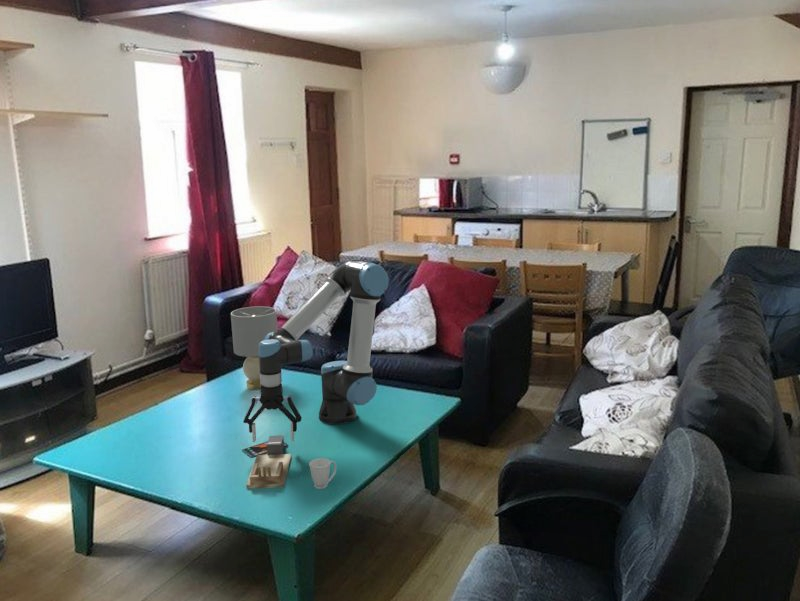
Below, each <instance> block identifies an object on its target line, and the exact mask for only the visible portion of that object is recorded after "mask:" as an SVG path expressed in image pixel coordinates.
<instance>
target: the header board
mask: <svg viewBox="0 0 800 601" xmlns="http://www.w3.org/2000/svg"><path fill="white" fill-rule="evenodd" d="M291 459H292V453H285V454H284V453H283V454H276V455H267V454H263V455H257V456H256V457H255V460H254V462H253V465H252V468H251V470H250V474H249V476H248V479H247V483H246V489H266V488H267V489H269V488H271V489H272V488H284V487H285V483H286V480H287V476H288V471H289V467H290V463H291Z"/></svg>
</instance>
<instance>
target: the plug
mask: <svg viewBox="0 0 800 601" xmlns="http://www.w3.org/2000/svg"><path fill="white" fill-rule="evenodd" d="M267 441H268V443H267V453H266V455H276V454H284V449H285V448H284V442H285V438H284V434H283V435H269V437H268V440H267Z"/></svg>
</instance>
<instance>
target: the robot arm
mask: <svg viewBox="0 0 800 601" xmlns="http://www.w3.org/2000/svg"><path fill="white" fill-rule="evenodd" d="M388 287H389V275H388V273H387V271H386V269H384V267H383V266H381V265H379V264H377V263H374V262H369V261H363V260H359V259H349V260H347V261H346V262H344V263H341V264H340V265H339V266H338V267H336V268H335V269H334V270H333V271H332V272H331V273H330V274H328V276H326V277H325V282H324V283H323V284H322V285H321V287H319V288H318V290H317V291H315V292H314V293H313V294H312V295H311V296H310V297H309V298H308V299H307V301H306V302H305V303H304V304H303V305H302V306H300V308H299V309H298V310H297V311H296V312H295V313H293V315H291V317H290V318H289V319H287V321H286V322H285V323H284V324H283V325H282V326H281V327H280V328H279V329H277V332H271V333H269V334H267V335H266V337H265V339H264V340H263V341H261V342H260V343H259V353H258V356H259V367H260V384H261V385H260V390H259V391H260V397H257V396H256V395H253V396H252V398H251V402H250V403H251V404H250V406H249V408H248V411H247V412H246V415H245V416H244V418H243V424H248V432H249V433H250V434H252V443H255V442H256V440H257V432H256V430H257V428H256V422H255V421H256V419H257V418H258V417H259V416H260V414H262V413H263V411H264V410H265V409H266V410H268V411H270V410H273V411H274V410H279V411H280V412H282V413H283V415H284V416H285V417H287V419H288V420H289V421H290V440H291V442H294V441H295V432H297V429H298V426H297V425H298V424H297V423H300V422H301V421H302V419H303V418H302V416H301V414H300V412H299V410H298V409H297V407H296V405H295V404H294V402H293V399H292V398H293V397H292V395H291V394H289V395H288V396H284V395H283V385H282V382H283V380H282V379H283V377H282V375H283V374H282V366H286V365H293V364H296V363H303V362H306V361H309V360H310V359H311V358H312V357H313V347H312V343H311V342H310V341H309V340H308V339H299V338H300V337H301V336H302V335H303V334H304V333H305V332H306V331H307V330H308V329H309V328H310V327H311V326H312V325H313V324H315V322H316V321H317V320H318V319H319V318H320V317H321V316H322V315H323V314H324V313H325V311H326V310H327V309H329V307H330V306H331V305H333V303H334V302H335V301H336V300H337V299H339V297H343V296H345V295H346V294H347V293H348V292H350V294H349V298H350V299H351V300H352V301H353V302H352V313H351V314H352V315H351V321H350V322H351V324H350V332H349V340H348V348H347V349H348V350H347V359H346V360H335V361H334V360H333V361H330V362H325V363H324V364H322V366H321V370H320V375H321V376H320V377H321V378H320V379H321V393H322V402H321V404H320V408H319V410H318V411H319V412H318V418H319V421H320V422H321V423H324V424H328V425H344V424H347V423H351V422H353V421H355V420H356V419H357V416H358V415H357V409H356V406H364V405H366V404H369V403H370V402H371V400H373V398H374V397H375V395H376V393H377V391H378V390H377V382H376V381H375V379H374V378H373V368H372V366H370V363H371V362H370V360H371V352H372V344H373V334H374V328H375V327H374V325H375V317H376V308H377V307H376V306H377V303H379V302H380V301H381V298H382V295H383V294H385V291H387V289H388ZM298 339H299V340H298ZM284 401H285V403H286V404H287V405H288V407H289V408H290V410H291V411H290V410H289V409H288V408H287V407H286V406H285V405H284V403H283V402H284ZM258 402H260V404H261V406H260V407H259V408H258V410H256V412H255V413H254V414H253V415H252V417H251V418H250V415H251V414H252V412H253V410H254V408H255V405H256V404H258ZM355 405H356V406H355Z"/></svg>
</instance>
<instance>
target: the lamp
mask: <svg viewBox="0 0 800 601" xmlns="http://www.w3.org/2000/svg"><path fill="white" fill-rule="evenodd" d="M277 315H278V314H277V309H276V308H274V307H272V306H271V307H270V306H248V307H241V308H237V309H234V310H232V311H231V312H230V321H231V333H232V345H233V347H232V348H233V353H234V354H235V355H236V356H239V357H246V358H245V360H244V362H243V364H242V371H243V375H244V376H245V378H247V380H246V388H247V389H248V390H250V391H260V385H261V384H260V367H259V356H258V353H259V343H260V342H261V341H263V340H264V339H265V337H266V335H267V334H269V333H271V332H277V331H278V317H277Z"/></svg>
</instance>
